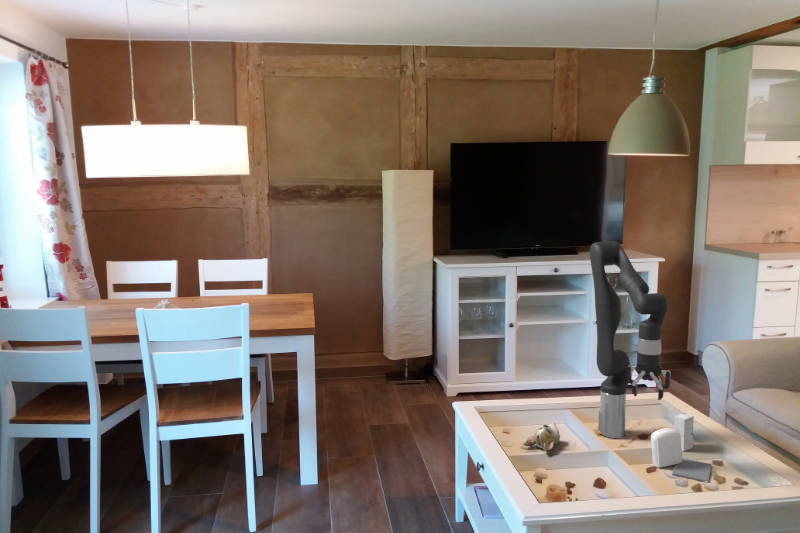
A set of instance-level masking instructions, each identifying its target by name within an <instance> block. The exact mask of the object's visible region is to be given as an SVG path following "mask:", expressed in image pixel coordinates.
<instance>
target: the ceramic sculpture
mask: <svg viewBox="0 0 800 533" xmlns="http://www.w3.org/2000/svg"><path fill="white" fill-rule="evenodd" d="M560 439H561V434H560V431H559V429H558V426H557V425H556V423H555V422H552V423H550V424H548V425H547V424H543V425H541V427H540V428H538V429H536V431H535V432H534V434H533V435H531V436H529V437H528V438H527V439H526V440H525V442H524V443H523V446H526V447H533V446H535V445H536V446H537V448H540V449H543V451H544V452H545V453H549V452H551V451H553V449H554V447H555V444H558V443H559V442H560Z"/></svg>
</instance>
